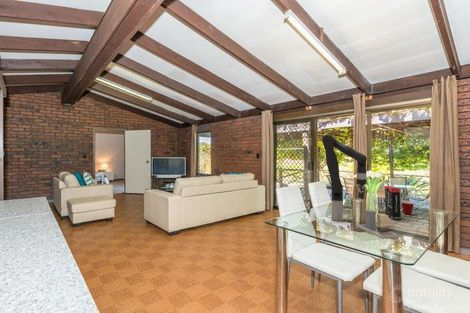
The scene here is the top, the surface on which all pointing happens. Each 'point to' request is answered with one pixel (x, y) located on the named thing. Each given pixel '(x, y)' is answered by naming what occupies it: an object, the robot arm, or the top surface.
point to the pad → (366, 236)
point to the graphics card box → (392, 202)
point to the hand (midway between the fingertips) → (361, 198)
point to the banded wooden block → (382, 224)
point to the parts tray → (374, 232)
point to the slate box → (370, 219)
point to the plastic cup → (407, 207)
